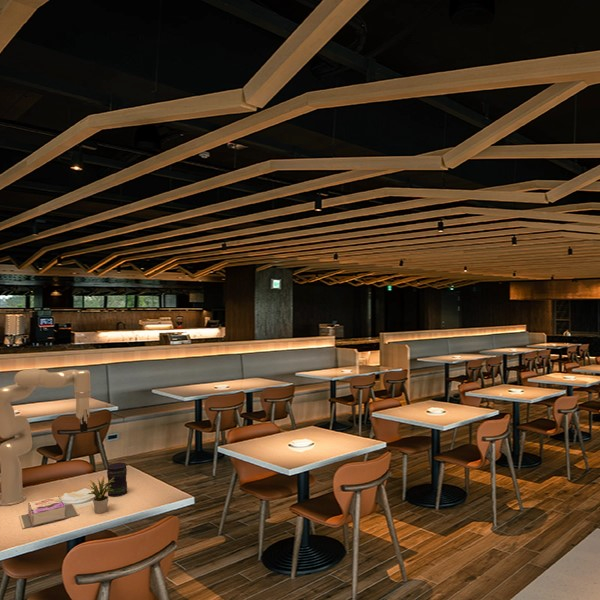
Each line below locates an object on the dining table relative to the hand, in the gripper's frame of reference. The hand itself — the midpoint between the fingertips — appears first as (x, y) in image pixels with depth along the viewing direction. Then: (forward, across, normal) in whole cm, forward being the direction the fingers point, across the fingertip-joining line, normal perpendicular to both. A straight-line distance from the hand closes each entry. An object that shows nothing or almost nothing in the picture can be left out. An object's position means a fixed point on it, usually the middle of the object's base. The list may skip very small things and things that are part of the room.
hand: (83, 431), depth 253 cm
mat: (+37, +3, -17) cm, 41 cm away
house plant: (+37, +14, +5) cm, 40 cm away
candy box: (+34, +13, -18) cm, 40 cm away
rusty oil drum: (+37, -6, +17) cm, 41 cm away
